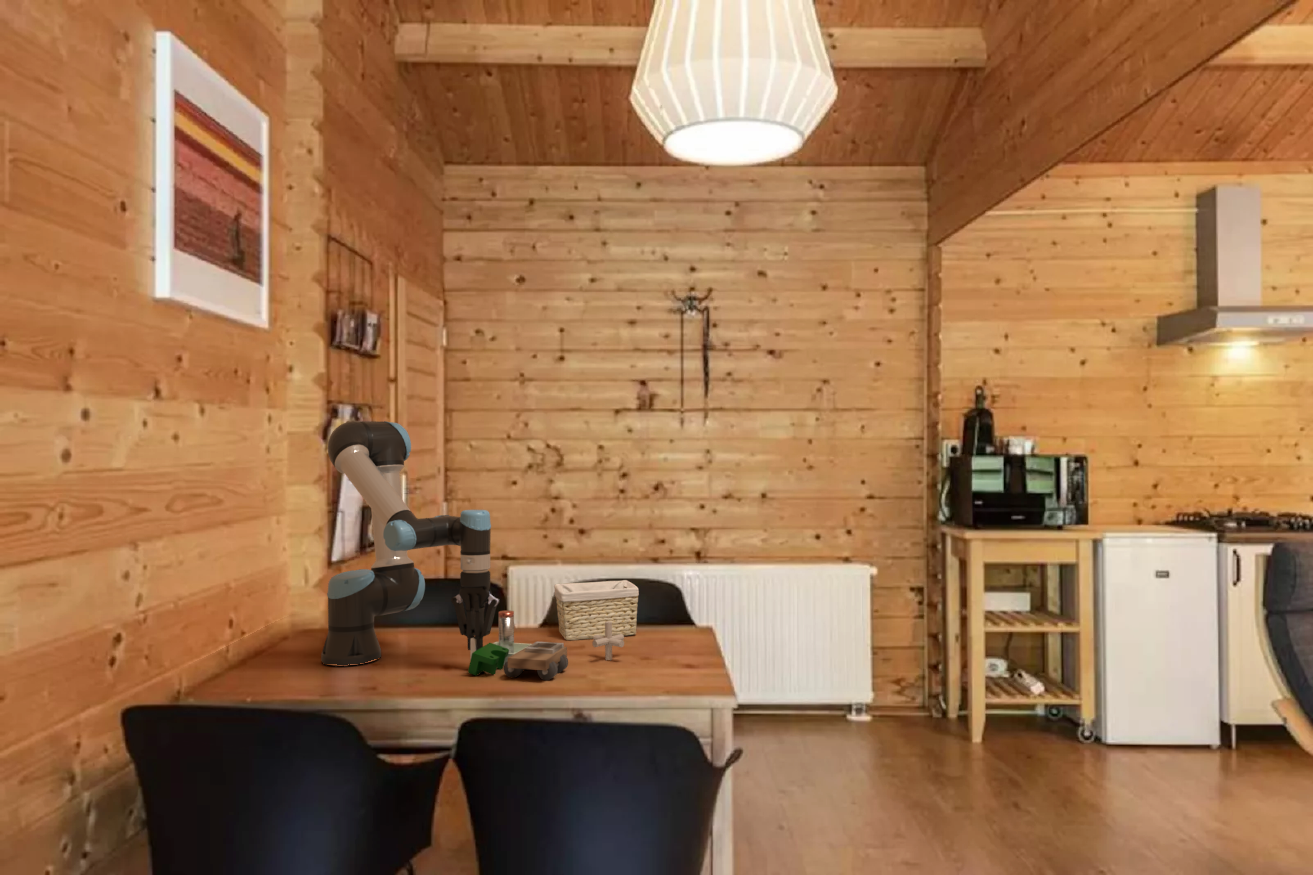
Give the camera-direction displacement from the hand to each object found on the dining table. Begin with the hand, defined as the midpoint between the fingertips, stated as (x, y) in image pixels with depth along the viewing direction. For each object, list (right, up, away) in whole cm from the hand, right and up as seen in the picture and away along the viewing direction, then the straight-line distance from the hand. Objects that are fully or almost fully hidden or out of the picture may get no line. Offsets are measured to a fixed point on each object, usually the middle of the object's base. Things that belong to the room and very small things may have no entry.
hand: (475, 663), depth 220 cm
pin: (+6, -1, +11) cm, 13 cm away
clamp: (+4, -2, -1) cm, 5 cm away
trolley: (+17, -2, -4) cm, 17 cm away
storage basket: (+28, -2, +41) cm, 50 cm away
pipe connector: (+34, -2, +10) cm, 35 cm away
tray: (+6, -2, +11) cm, 13 cm away
